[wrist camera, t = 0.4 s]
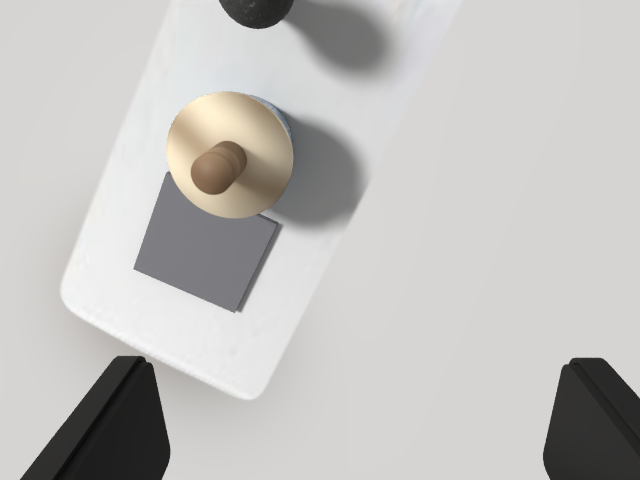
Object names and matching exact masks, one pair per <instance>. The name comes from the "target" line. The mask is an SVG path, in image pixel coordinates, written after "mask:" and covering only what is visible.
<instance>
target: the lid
mask: <svg viewBox="0 0 640 480" xmlns="http://www.w3.org/2000/svg"><path fill="white" fill-rule="evenodd" d="M166 155H167V162H168V166H169V170H170V172H171V175H172V177H173V179H174V181H175V183H176V185H177V186H178V188H179V189H180V191H181V192H182V193H183V194H184V195H185V196H186V197H187V199H189V200H190V201H191V202H192V203H193V204H194V205H196V206H197V207H199V208H200V209H202V210H204V211H206V212H208V213H210V214H213V215H216V216H220V217H224V218H246V217H250V216H254V215H256V214H259V213H261V212H263V211H265V210H266V209H268V208H269V207H270V206H272V205H273V204H274V203H275V202H276V201H277V200H278V199H279V197H280V196H281V195H282V193H283V192H284V190H285V188H286V186H287V184H288V182H289V179H290V176H291V173H292V168H293V149H292V143H291V140H290V137H289V134H288V132H287V130H286V128H285V126H284V124H283V123H282V121H281V120H280V118H279V117H278V116H277V115H276V114H275V113H274V112H273V111H272V110H271V109H270V108H269V107H268V106H267V105H265V104H264V103H263V102H261V101H259V100H257V99H256V98H254V97H251V96H249V95H246V94H242V93H238V92H216V93H212V94H208V95H205V96H202V97H200V98H197V99H195V100H194V101H192V102H191V103H189V104H188V105H186V106H185V107H184V108H183V109H182V110H181V111H180V112H179V114H178V115H177V116H176V118H175V119H174V121H173V123H172V125H171V127H170V130H169V133H168V137H167V144H166Z"/></svg>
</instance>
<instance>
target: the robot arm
mask: <svg viewBox="0 0 640 480" xmlns="http://www.w3.org/2000/svg"><path fill="white" fill-rule="evenodd" d="M169 459H170V444H169V439H168V435H167V430H166V425H165V421H164V416H163V411H162V406H161V401H160V397H159V392H158V387H157V383H156V378H155V373H154V368H153V365H152V364H151V363H149V362H146V360H145V358H144V357H142V356H117V357H116V358H114V359H113V361H112V362H111V363H110V365H109V366H108V367H107V368H106V370H105V371H104V372H103V374H102V375H101V376H100V377H99V379H98V380H97V381H96V383H95V384H94V385H93V386H92V388H91V389H90V390H89V392H88V393H87V394H86V395H85V397H84V398H83V399H82V401H81V402H80V403H79V405H78V406H77V407H76V408H75V410H74V411H73V412H72V414H71V415H70V416H69V417H68V419H67V420H66V421H65V422H64V424H63V425H62V426H61V427H60V429H59V430H58V431H57V433H56V434H55V435H54V436H53V438H52V439H51V440H50V441H49V443H48V444H47V445H46V447H45V448H44V449H43V451H42V452H41V453H40V455H39V456H38V457H37V458H36V460H35V461H34V462H33V464H32V465H31V466H30V467H29V469H28V470H27V471H26V472H25V474H24V475H23V477H22V478H21V479H20V480H162V477H163V475H164V473H165V470H166V468H167V466H168V463H169ZM543 461H544V466H545V469H546V472H547V474H548V476H549V478H550V480H640V398H639V397H638V396H637V395H636V394H635V392H634V391H633V390H632V389H631V388H630V387H629V386H628V385H627V384H626V382H624V380H623V379H622V378H621V377H620V376H619V375H618V374H617V372H616V371H615V370H614V369H613V368H612V367H611V366H610V365H609V364H608V363H607V361H605V360H604V359H602V358H573V359H572V360H571V361H570V362H569V364H566V365H564V366H563V367H562V370H561V374H560V379H559V384H558V388H557V393H556V397H555V402H554V406H553V411H552V416H551V420H550V424H549V429H548V434H547V438H546V443H545V447H544V452H543Z"/></svg>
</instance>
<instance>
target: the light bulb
mask: <svg viewBox="0 0 640 480" xmlns="http://www.w3.org/2000/svg"><path fill="white" fill-rule="evenodd" d="M293 1H294V0H219V2H220V3H221V5H222V7H223V9H224V10H225V11H226V12H227V14H228V15H229V16H230V17H231V18H232V19H233V20H235V21H236V22H237V23H239V24H241V25H243V26H246V27H249V28H254V29H263V28H268V27H271V26H273V25H275V24H277V23H278V22H279V21H281V20H282V19H283V18H284V17H285V16H286V14H287V13H288V12H289V10H290V8H291V6H292V4H293Z"/></svg>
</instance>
